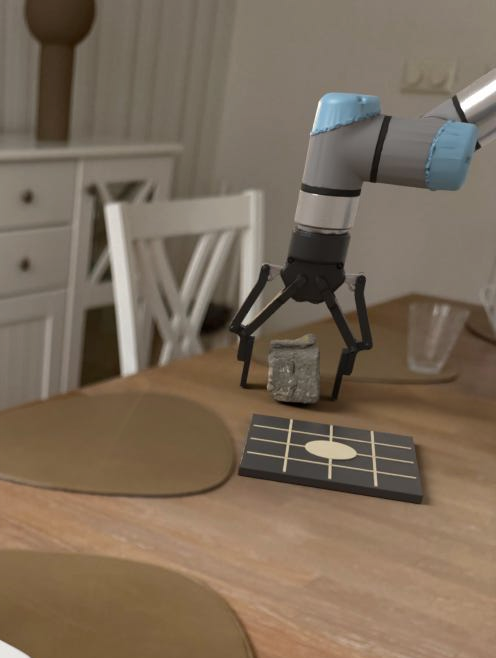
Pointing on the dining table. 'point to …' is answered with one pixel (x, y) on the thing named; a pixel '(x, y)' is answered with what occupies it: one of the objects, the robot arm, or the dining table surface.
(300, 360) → the rock
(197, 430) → the dining table surface
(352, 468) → the board
